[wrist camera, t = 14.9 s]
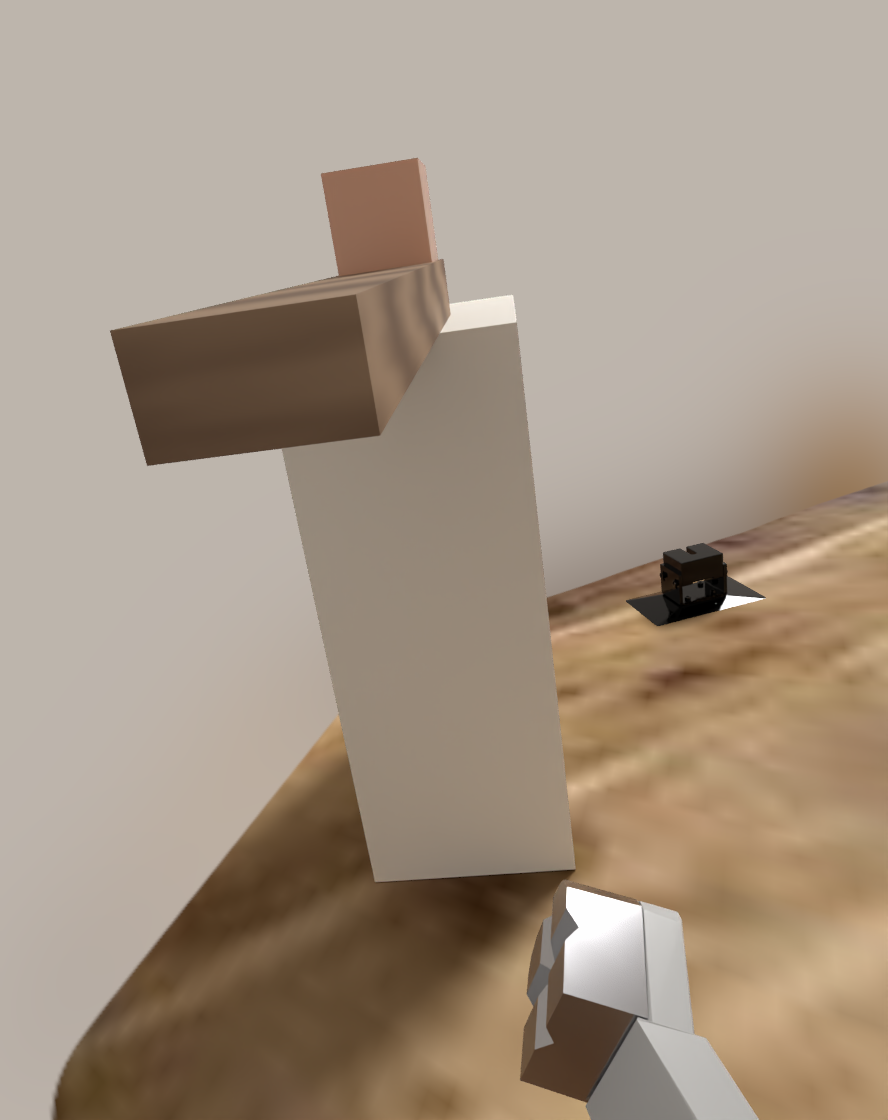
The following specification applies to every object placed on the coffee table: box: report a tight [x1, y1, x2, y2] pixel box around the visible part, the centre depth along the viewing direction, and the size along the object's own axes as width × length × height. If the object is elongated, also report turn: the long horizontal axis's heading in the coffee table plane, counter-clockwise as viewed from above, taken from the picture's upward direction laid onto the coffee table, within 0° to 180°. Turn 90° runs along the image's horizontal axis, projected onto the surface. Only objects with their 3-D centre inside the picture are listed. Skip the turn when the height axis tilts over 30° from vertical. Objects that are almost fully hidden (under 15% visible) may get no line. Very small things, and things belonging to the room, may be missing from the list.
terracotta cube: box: [321, 158, 438, 276], centre depth 36 cm, size 4×4×4 cm
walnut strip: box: [110, 259, 451, 466], centre depth 27 cm, size 26×4×2 cm, turn 177°
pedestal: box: [282, 295, 576, 882], centre depth 44 cm, size 16×10×26 cm, turn 176°
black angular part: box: [626, 543, 766, 626], centre depth 66 cm, size 12×7×5 cm, turn 105°
